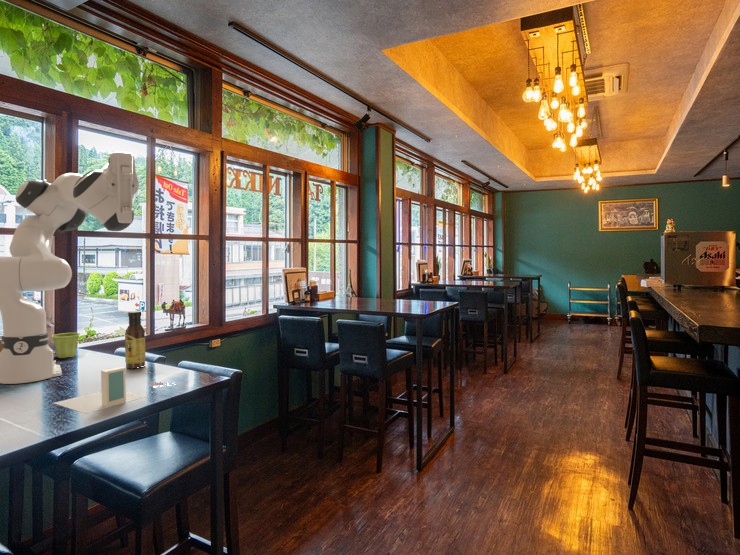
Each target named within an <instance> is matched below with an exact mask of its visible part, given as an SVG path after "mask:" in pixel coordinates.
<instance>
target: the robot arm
mask: <svg viewBox="0 0 740 555" xmlns="http://www.w3.org/2000/svg"><path fill="white" fill-rule="evenodd" d="M135 163H136V159H135V156H134V154H133V153H132V152H127V151H120V150H119V151H118V150H115V151H113V152H109V153H108V161H107V163H105V165H103V167H102V168H101V169H91V170H90V171H88V172H86V173H85V174H84V175H83V174H80V173H76V172H75V173H74V172H67V173H63V174H61V175H59V176H58V177H56V179H54V181H53V182H52V183H49V182H47V179H42V180H40V179H29V180H26V182H24V183H22V184H20V186H19V187H18V188H17V189H16V190H17V191H16V194H15V201H16V203H17V204H18V205H20V206H21V207H22V208H24V209H27V210H28V211H30V212H32V213H33V214H34V215H28V216H26V217H24V218H23V219H22V220H21V221H20V222H19V223H18V226H17V227H16V228H15V230H14V233H13V237H12V239H11V242H10V245H9V253H10V255H11V256H0V314H1V320H2V330H3V331H2V336H1V341H0V342H1V348H2V350H1V351H0V384H3V385H7V384H9V385H12V384H13V385H14V384H25V383H26V384H27V383H33V382H38V381H43V380H47V379H51V378H55V377H59V376H62V375H63V373H62V372H63V371H62V368H61V364H57V361H56V360H54V350H53V349H52V348H51V347H50V345H49V343H50V341H49V339H50V337H49V333H48V331H47V313H46V310H45V308H44V307H43V306H42V305H40V304H38V303H35V302H33V301H31V300H29V299H28V300H27V299H26V298H25V296H24V295H23V292H43V291H44V292H45V291H53V290H54V291H55V290H59V289H64V288H65V287H67V286H68V285H69V283H70V282H71V280H72V277H73V271H72V268H71V266H70V264H69V263H68V262H67V261H66V259H63V258H62V257H58V256H56V255H55V254H54V253H52V244H53V241H54V234H55V232H56V231H57V230H58V232H59V233H64V232H69V231H70V232H71V231H74V230H77V229H78V228H79V227H80V226H82V225H83V224H84V222H85V220H86V217H87V215H88V214H90V215H91V216H93V217H94V218H95V219H97V220H98V221H99V223H101V224H102V226H103V227H104V228H105V229H106V230H107V231H110V232H121V231H123V230H125V229H126V228H129V226H131V224H133V221H134V220H135V210H134V208H133V196H135V195H136V193H137V192H138V190H139V186H140V182H139V179H138V174H137V172H136V164H135ZM87 213H88V214H87Z"/></svg>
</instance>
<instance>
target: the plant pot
mask: <svg viewBox="0 0 740 555" xmlns="http://www.w3.org/2000/svg"><path fill="white" fill-rule="evenodd" d="M80 335H81V333H80V332H65V333H63V332H61V333H57V334H52V335H51V338H52V341H53V343H54V347H55V353H56V358H58V359H67V358H73V357H74V358H75V356H76V354H77V346H78V340H79V337H80Z"/></svg>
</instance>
